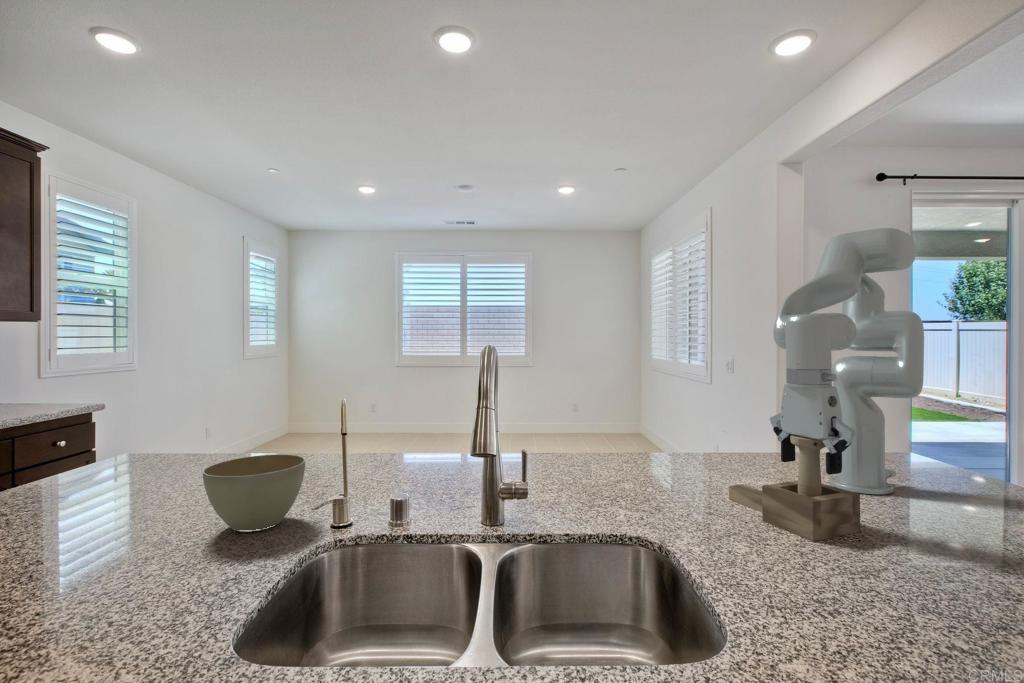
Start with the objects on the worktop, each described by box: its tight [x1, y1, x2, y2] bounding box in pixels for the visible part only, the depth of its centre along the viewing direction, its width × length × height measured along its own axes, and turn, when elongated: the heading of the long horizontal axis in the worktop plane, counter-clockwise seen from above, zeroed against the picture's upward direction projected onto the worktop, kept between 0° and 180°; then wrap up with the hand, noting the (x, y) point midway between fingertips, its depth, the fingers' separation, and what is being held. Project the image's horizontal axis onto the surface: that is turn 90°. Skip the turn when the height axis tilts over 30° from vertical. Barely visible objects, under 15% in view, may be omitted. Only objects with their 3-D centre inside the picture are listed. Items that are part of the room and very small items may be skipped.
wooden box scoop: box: [728, 480, 861, 542], centre depth 102 cm, size 12×24×7 cm, turn 20°
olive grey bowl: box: [202, 453, 306, 530], centre depth 99 cm, size 18×18×12 cm
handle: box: [791, 435, 827, 497], centre depth 96 cm, size 5×6×15 cm
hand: (810, 467), depth 96 cm, fingers open, 9 cm apart
